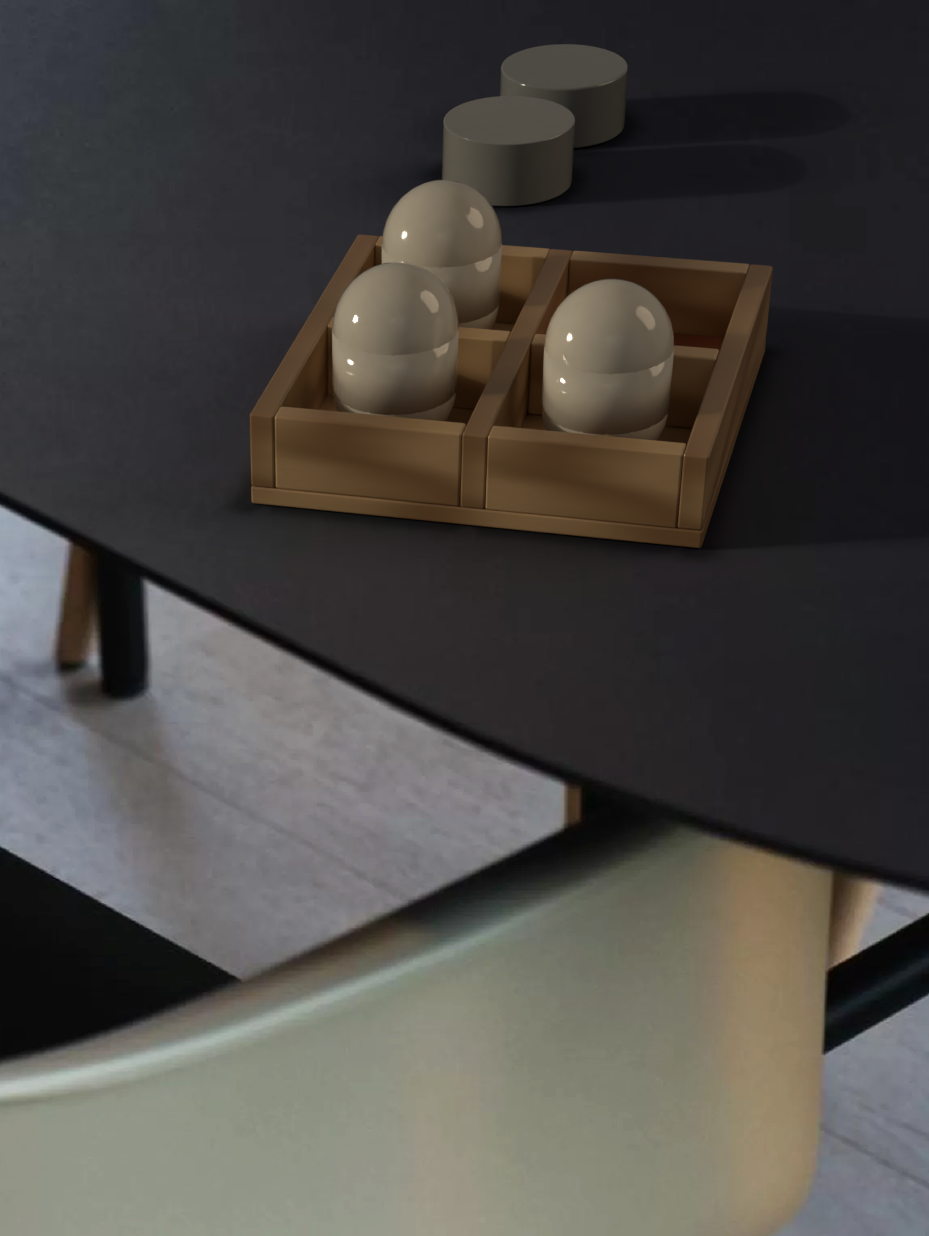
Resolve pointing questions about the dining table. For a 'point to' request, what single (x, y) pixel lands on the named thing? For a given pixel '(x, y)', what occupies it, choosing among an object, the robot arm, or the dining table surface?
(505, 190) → the grey short cylinder
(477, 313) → the cream egg
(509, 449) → the egg tray
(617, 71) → the grey short cylinder
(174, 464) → the dining table surface
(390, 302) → the cream egg
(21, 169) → the dining table surface
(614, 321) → the cream egg
